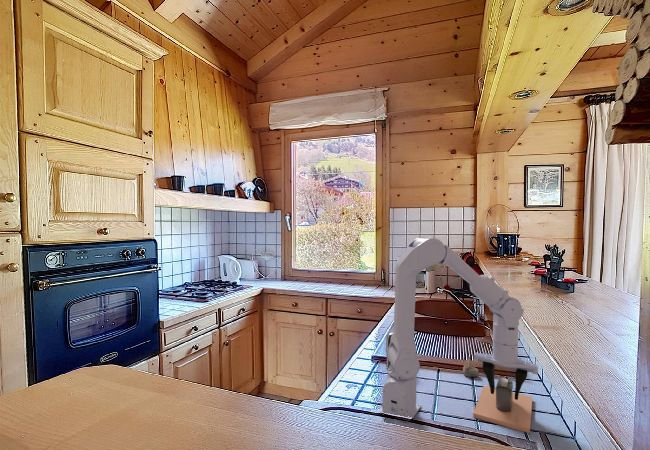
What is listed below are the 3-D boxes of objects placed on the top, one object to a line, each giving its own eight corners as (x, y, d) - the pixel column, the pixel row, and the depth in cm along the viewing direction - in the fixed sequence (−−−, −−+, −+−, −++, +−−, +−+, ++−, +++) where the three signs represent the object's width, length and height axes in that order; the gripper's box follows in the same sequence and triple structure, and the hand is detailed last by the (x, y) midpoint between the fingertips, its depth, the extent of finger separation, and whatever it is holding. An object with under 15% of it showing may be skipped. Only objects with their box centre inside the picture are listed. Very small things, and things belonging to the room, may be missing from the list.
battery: (392, 372, 112) (393, 336, 112) (385, 368, 115) (385, 333, 115) (409, 368, 115) (410, 333, 115) (401, 364, 118) (402, 330, 118)
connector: (510, 413, 86) (510, 388, 86) (494, 409, 88) (495, 384, 88) (512, 399, 93) (513, 376, 93) (498, 396, 95) (499, 373, 95)
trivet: (529, 433, 80) (529, 428, 80) (473, 417, 86) (473, 413, 86) (532, 400, 95) (532, 396, 95) (483, 389, 101) (484, 385, 101)
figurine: (482, 376, 109) (479, 356, 110) (472, 379, 107) (469, 359, 108) (468, 372, 114) (466, 353, 115) (458, 375, 112) (456, 356, 113)
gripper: (538, 343, 90) (537, 396, 90) (477, 333, 98) (476, 382, 98) (537, 351, 84) (537, 408, 84) (472, 340, 92) (472, 392, 92)
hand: (504, 395), depth 90 cm, fingers open, 5 cm apart
